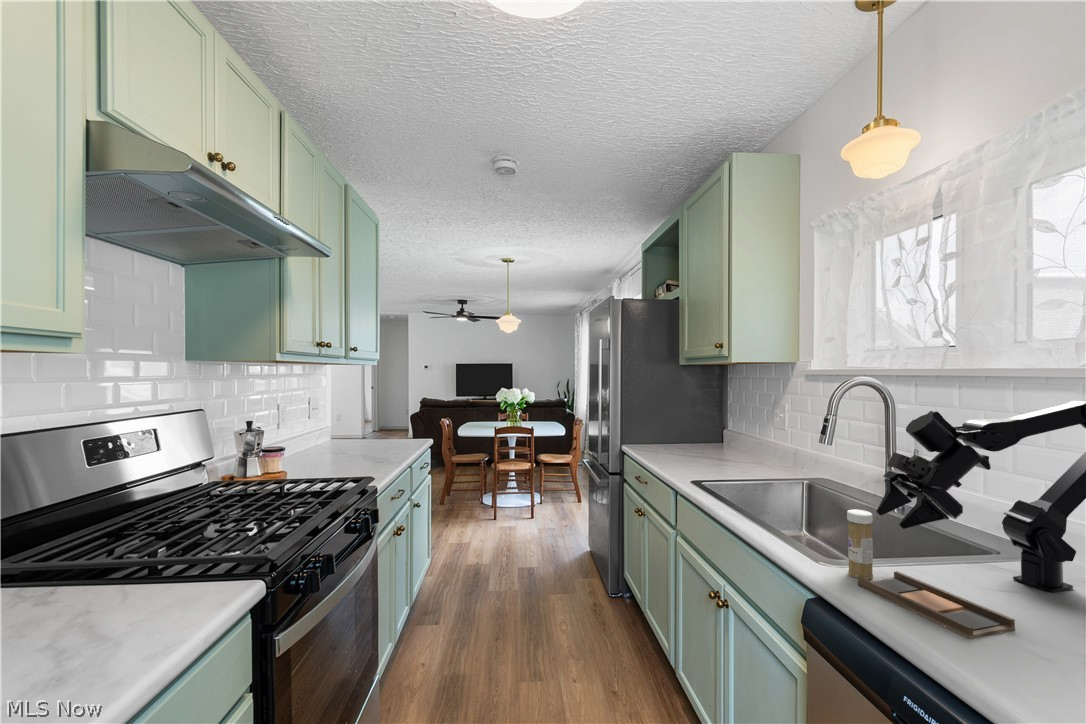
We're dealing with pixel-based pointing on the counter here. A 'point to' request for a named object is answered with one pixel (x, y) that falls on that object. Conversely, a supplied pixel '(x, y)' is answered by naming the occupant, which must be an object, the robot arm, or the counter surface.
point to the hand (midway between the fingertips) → (889, 520)
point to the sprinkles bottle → (860, 543)
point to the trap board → (939, 606)
